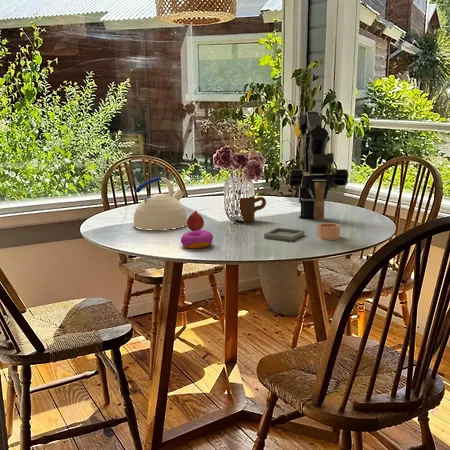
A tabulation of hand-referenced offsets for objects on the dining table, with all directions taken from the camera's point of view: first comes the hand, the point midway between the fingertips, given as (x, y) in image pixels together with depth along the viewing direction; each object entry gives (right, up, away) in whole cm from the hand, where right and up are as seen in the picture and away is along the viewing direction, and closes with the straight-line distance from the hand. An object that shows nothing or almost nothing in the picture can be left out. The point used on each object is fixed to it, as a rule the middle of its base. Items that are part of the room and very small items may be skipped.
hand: (319, 198), depth 168 cm
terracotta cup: (+4, -13, +4) cm, 14 cm away
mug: (-21, -7, +34) cm, 40 cm away
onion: (-40, -11, +15) cm, 44 cm away
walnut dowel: (0, -7, +3) cm, 7 cm away
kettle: (-54, -9, +28) cm, 62 cm away
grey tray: (-11, -13, +6) cm, 18 cm away
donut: (-39, -15, -2) cm, 42 cm away
